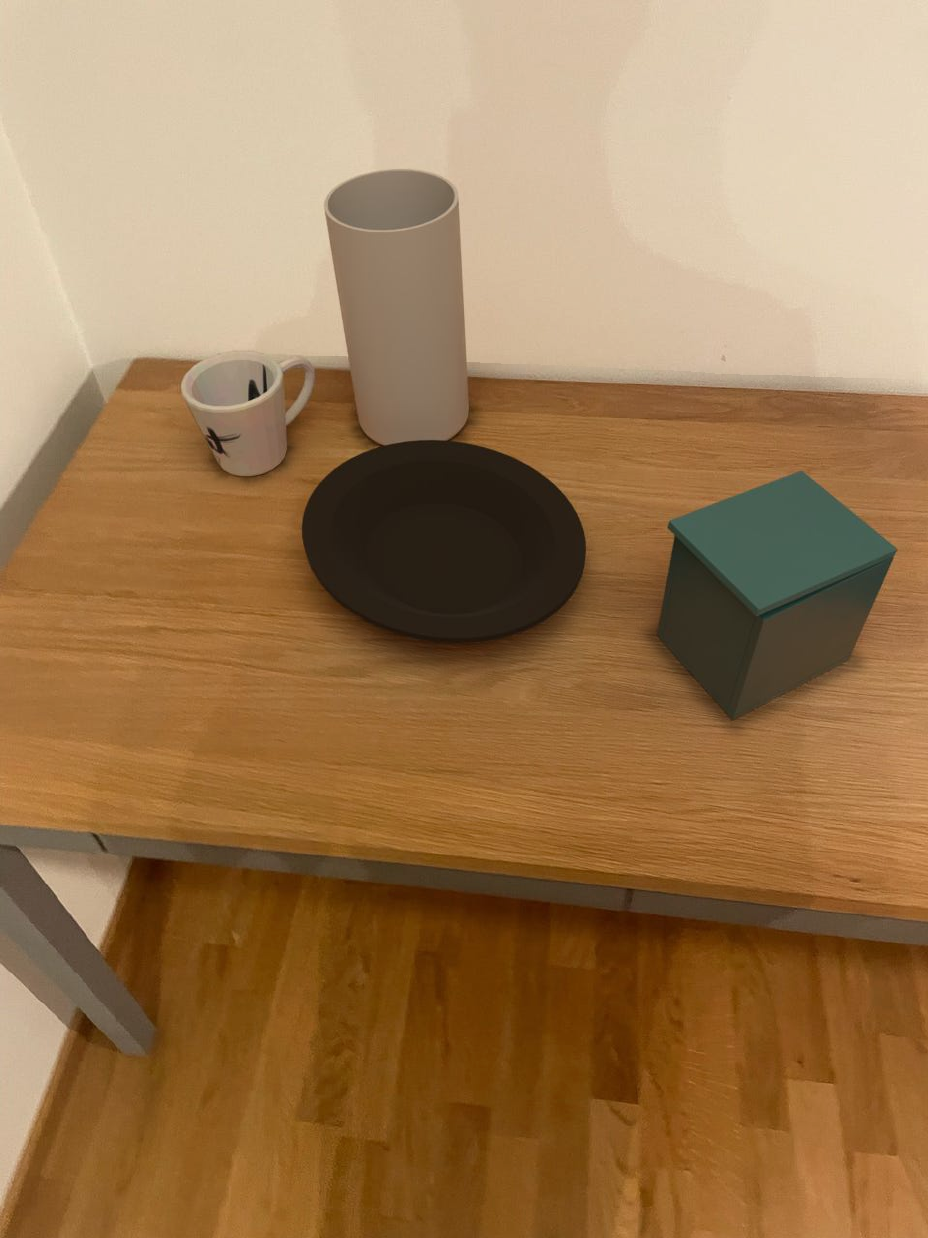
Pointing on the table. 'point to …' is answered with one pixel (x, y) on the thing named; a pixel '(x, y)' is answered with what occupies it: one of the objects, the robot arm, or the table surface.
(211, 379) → the mug
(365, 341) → the cylinder vase
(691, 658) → the tray box
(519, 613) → the plate
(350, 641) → the table surface
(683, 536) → the cover
